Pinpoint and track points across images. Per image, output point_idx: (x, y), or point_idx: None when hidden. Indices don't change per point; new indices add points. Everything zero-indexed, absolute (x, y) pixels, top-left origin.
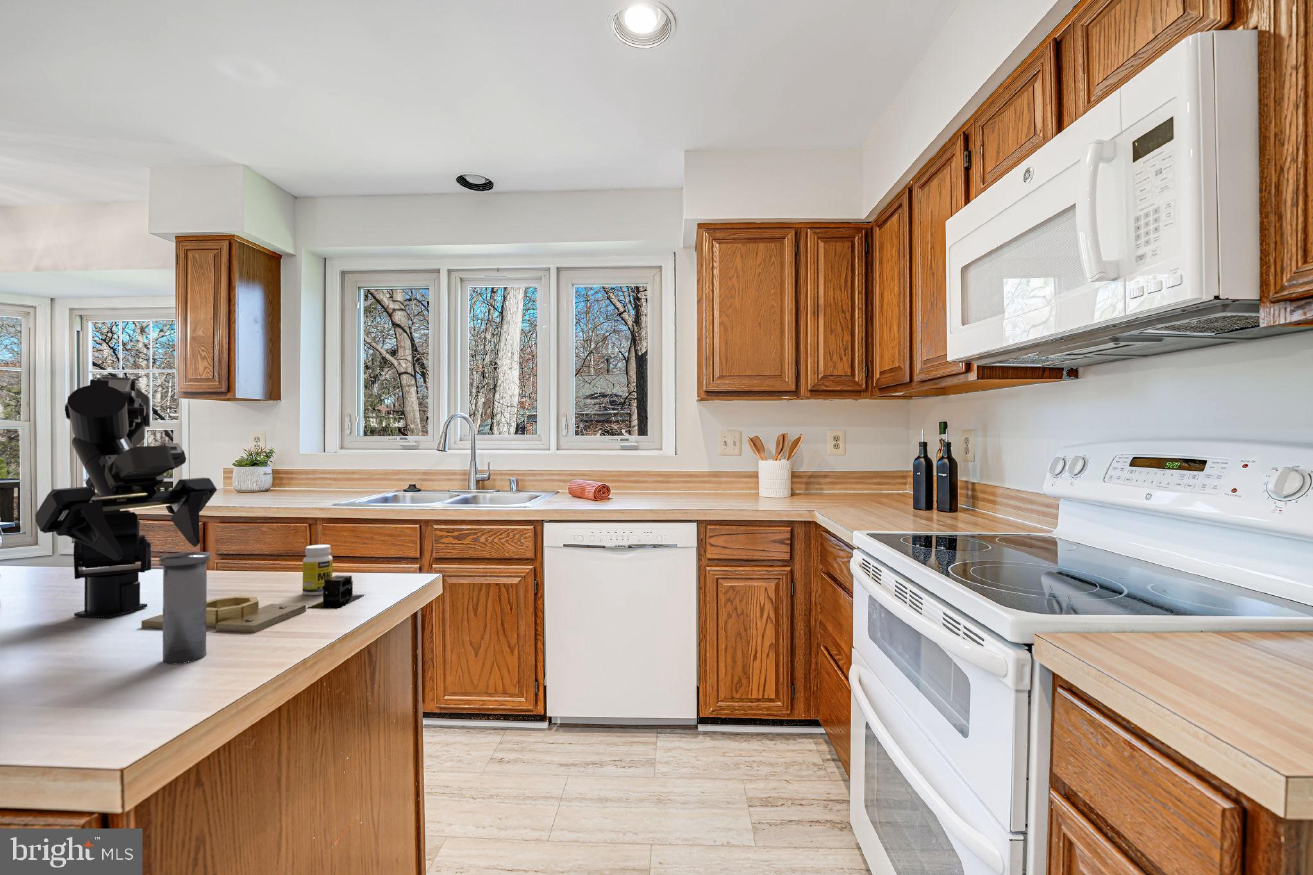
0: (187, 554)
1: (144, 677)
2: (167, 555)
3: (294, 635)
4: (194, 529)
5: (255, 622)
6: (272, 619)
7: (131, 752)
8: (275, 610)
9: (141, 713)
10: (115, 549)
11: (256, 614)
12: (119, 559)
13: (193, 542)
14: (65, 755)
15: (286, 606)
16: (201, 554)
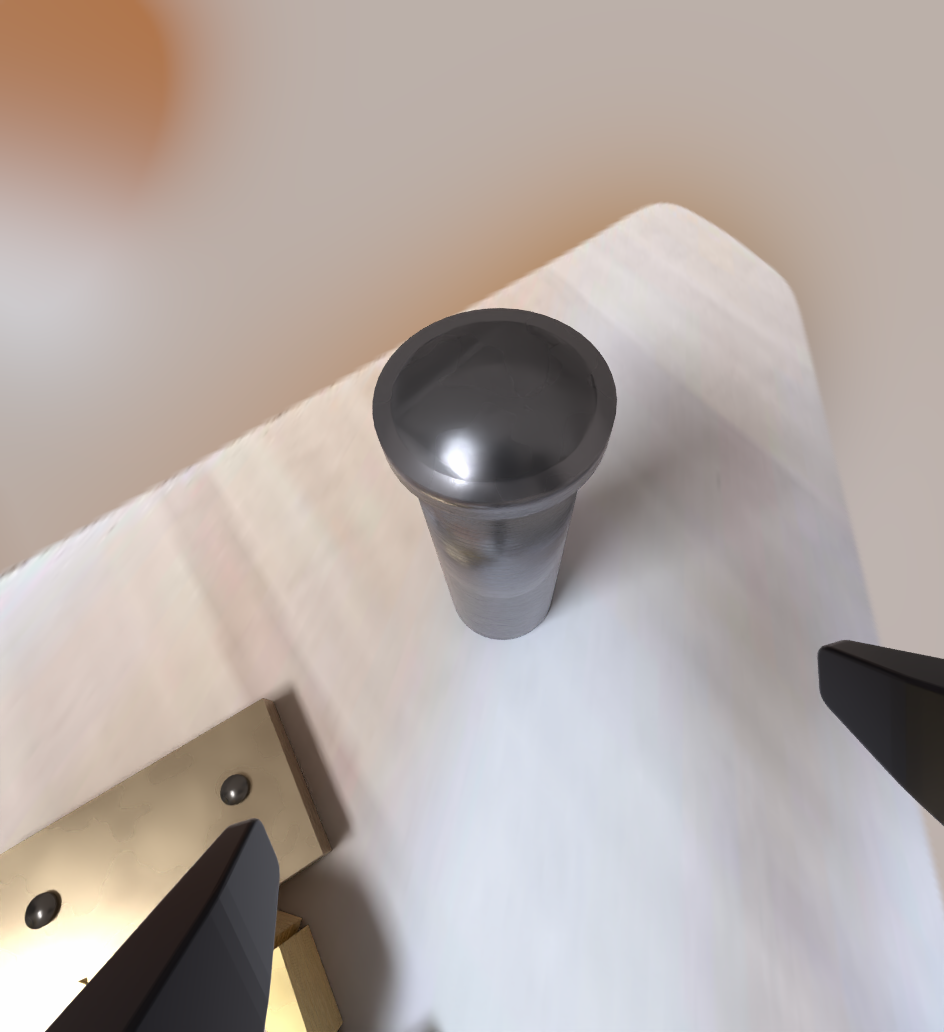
0: (471, 429)
1: (605, 506)
2: (564, 469)
3: (233, 569)
4: (169, 944)
5: (239, 737)
6: (178, 751)
7: (656, 219)
8: (88, 882)
9: (633, 324)
10: (902, 656)
11: (164, 879)
12: (822, 689)
13: (264, 882)
14: (729, 256)
15: (20, 922)
16: (422, 378)
